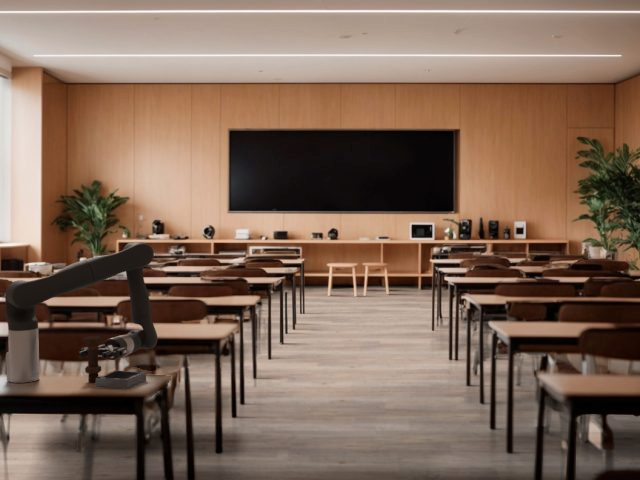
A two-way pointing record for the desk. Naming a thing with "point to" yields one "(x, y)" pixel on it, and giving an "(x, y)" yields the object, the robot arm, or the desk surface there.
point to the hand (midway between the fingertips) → (91, 355)
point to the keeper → (120, 379)
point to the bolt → (92, 357)
